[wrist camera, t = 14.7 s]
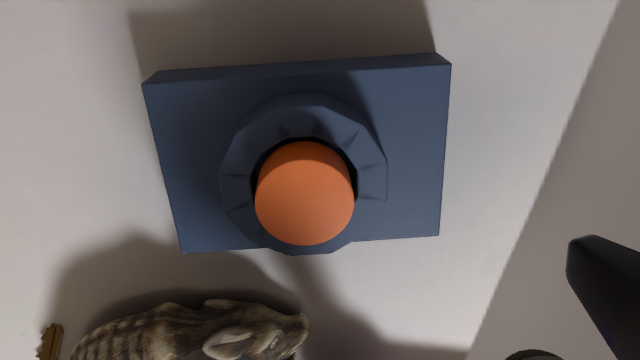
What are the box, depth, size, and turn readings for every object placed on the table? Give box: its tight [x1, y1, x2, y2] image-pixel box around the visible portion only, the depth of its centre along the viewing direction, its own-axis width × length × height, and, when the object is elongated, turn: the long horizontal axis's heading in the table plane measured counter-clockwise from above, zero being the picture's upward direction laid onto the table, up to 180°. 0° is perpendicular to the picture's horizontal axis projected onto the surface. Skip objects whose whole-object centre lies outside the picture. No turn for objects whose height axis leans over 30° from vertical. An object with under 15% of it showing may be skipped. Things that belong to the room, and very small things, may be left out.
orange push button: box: [255, 141, 354, 246], centre depth 17 cm, size 4×4×2 cm
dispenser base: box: [141, 52, 452, 256], centre depth 19 cm, size 12×8×4 cm, turn 93°
